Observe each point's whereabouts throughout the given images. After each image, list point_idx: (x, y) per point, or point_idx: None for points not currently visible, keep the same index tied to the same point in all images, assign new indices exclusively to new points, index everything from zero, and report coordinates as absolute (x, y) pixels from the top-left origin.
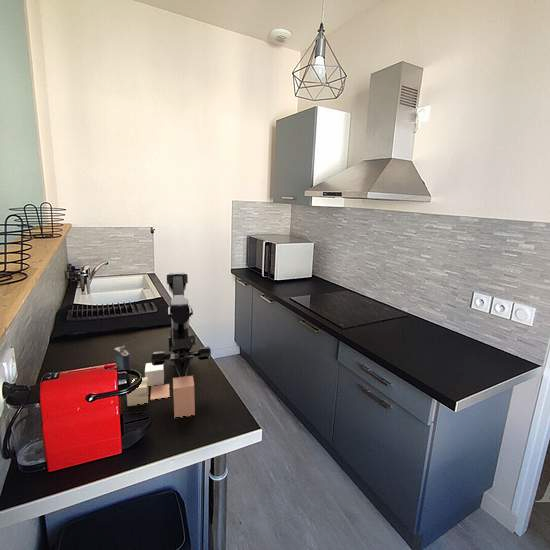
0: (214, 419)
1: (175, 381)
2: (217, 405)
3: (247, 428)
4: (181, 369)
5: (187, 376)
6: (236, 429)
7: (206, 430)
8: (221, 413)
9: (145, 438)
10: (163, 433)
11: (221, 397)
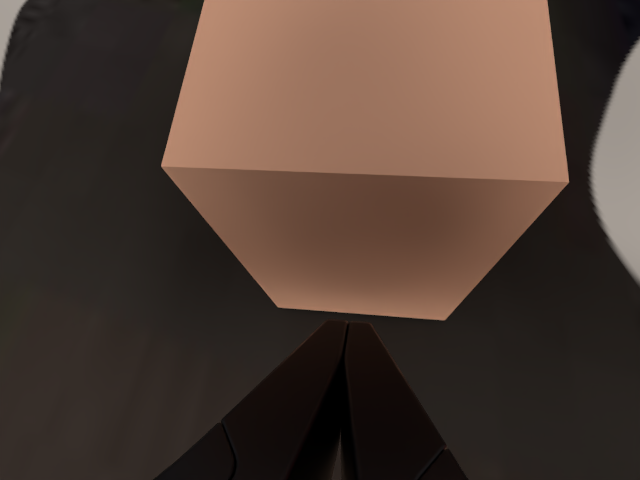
0: None
1: (507, 56)
2: (114, 234)
3: (60, 4)
4: (354, 470)
5: (264, 159)
6: (112, 9)
7: None
8: (127, 145)
9: (623, 53)
10: None
11: (41, 327)
